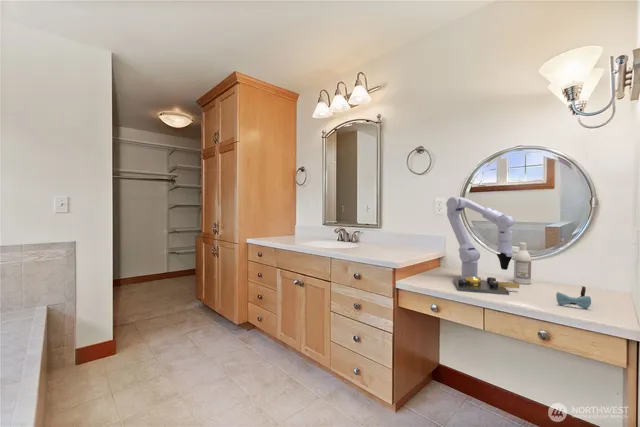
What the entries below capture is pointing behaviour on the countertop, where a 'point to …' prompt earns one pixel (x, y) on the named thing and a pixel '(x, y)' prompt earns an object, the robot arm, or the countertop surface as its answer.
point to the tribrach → (478, 285)
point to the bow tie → (573, 300)
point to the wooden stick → (503, 284)
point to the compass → (581, 293)
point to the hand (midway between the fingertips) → (504, 269)
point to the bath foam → (522, 265)
